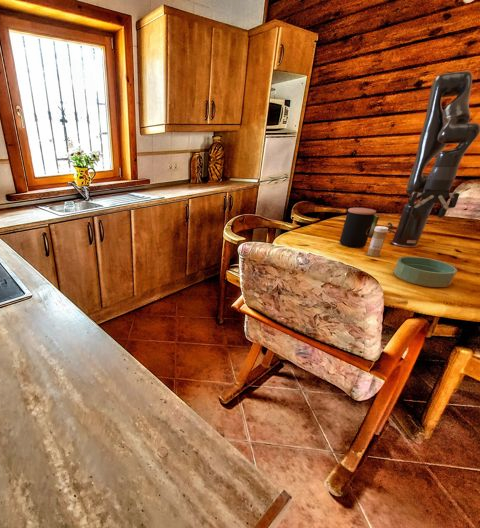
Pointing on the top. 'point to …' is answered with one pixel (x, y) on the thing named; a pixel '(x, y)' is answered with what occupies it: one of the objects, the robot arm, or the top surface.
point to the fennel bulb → (373, 226)
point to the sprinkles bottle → (377, 240)
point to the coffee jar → (357, 227)
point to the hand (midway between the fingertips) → (425, 216)
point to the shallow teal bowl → (425, 271)
